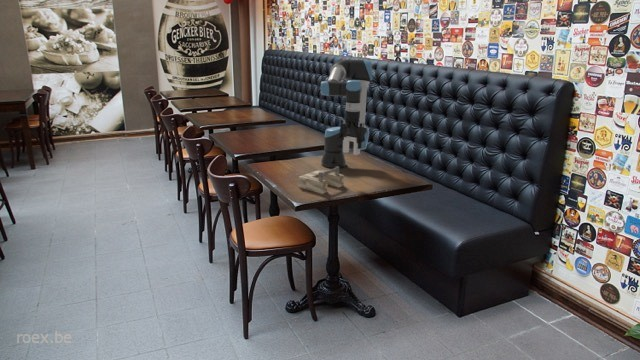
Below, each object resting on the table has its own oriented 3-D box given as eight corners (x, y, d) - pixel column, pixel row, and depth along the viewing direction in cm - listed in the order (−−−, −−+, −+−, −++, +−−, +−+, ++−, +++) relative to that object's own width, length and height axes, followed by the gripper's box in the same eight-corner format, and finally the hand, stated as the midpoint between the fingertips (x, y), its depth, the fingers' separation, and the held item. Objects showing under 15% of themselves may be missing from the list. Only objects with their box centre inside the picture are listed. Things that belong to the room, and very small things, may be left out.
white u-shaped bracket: (346, 151, 259) (347, 136, 256) (358, 154, 254) (359, 138, 251) (343, 152, 256) (343, 137, 254) (355, 155, 252) (356, 139, 249)
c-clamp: (320, 179, 265) (320, 161, 262) (343, 185, 256) (344, 167, 253) (298, 187, 252) (298, 168, 249) (322, 193, 242) (322, 174, 239)
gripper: (332, 109, 252) (331, 150, 258) (365, 113, 239) (363, 157, 246) (341, 107, 257) (339, 148, 264) (373, 112, 245) (371, 155, 252)
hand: (351, 152), depth 255 cm, fingers closed on white u-shaped bracket, 8 cm apart
